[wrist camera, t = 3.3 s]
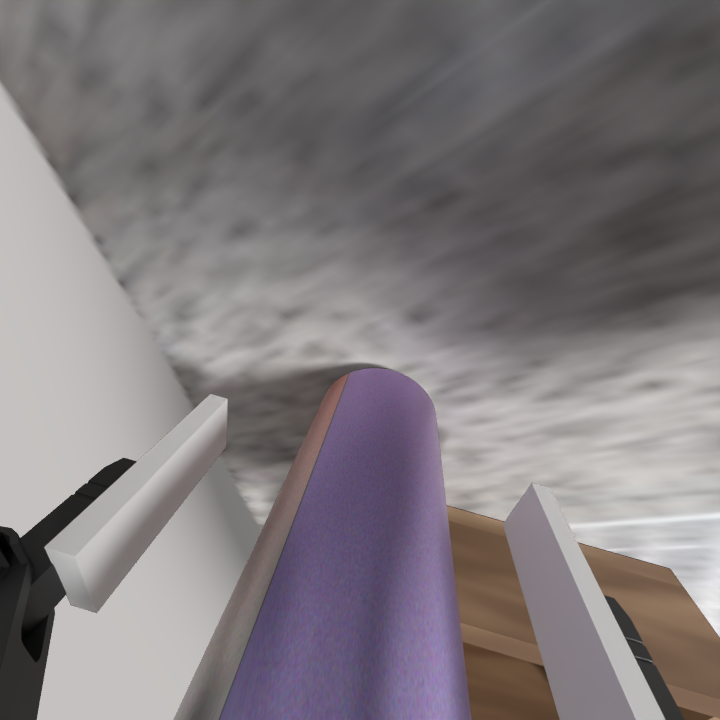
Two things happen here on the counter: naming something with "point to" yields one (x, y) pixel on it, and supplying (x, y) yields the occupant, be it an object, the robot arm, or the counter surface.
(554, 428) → the counter surface
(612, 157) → the counter surface
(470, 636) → the tray
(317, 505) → the beverage can
